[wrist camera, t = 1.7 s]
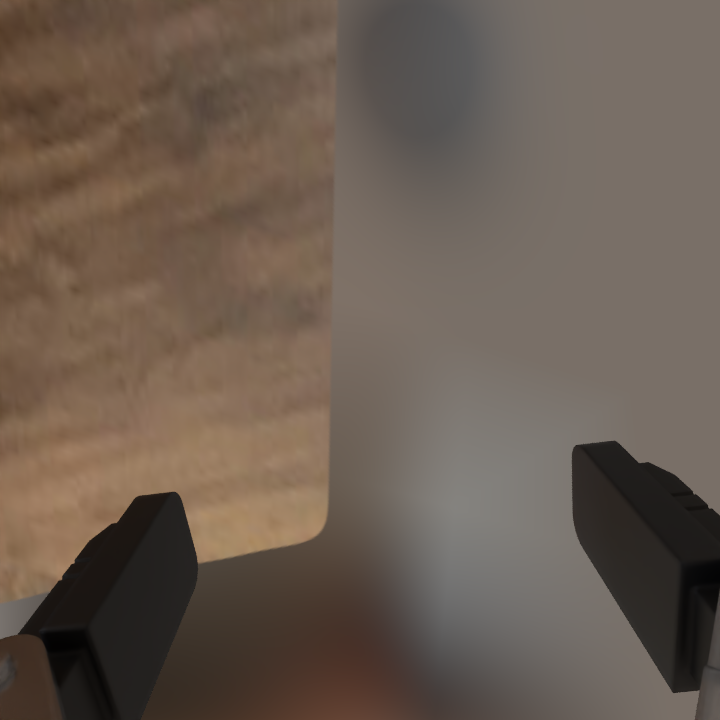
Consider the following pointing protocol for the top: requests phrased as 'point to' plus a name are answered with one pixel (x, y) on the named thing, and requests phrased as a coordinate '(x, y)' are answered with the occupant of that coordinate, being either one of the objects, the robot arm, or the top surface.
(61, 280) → the top surface
